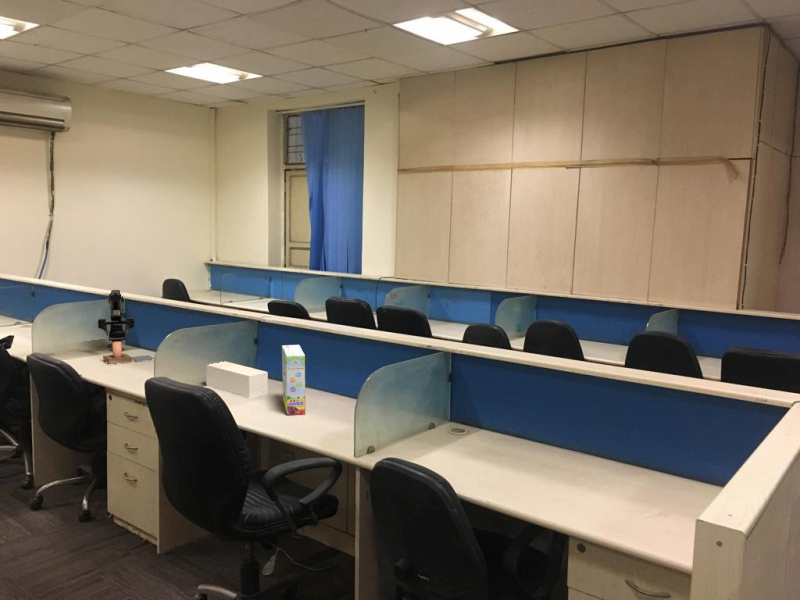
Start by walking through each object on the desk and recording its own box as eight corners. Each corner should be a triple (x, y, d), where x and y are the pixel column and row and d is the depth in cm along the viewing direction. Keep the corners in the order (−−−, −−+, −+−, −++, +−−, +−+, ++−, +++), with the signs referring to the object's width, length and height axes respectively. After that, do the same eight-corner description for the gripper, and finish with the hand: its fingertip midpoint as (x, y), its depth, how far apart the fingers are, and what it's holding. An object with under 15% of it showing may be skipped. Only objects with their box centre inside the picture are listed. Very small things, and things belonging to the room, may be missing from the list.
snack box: (280, 401, 282) (281, 344, 279) (300, 400, 284) (301, 344, 281) (285, 416, 261) (285, 355, 258) (306, 415, 264) (307, 354, 260)
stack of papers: (206, 386, 304) (206, 364, 302) (224, 382, 312) (224, 361, 311) (249, 399, 285) (249, 376, 283) (267, 394, 293) (267, 371, 292)
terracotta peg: (111, 361, 348) (111, 341, 347) (120, 360, 351) (120, 341, 350) (114, 363, 345) (113, 343, 343) (123, 362, 348) (122, 342, 346)
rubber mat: (130, 358, 356) (130, 357, 356) (148, 356, 363) (148, 355, 362) (136, 361, 349) (136, 360, 348) (154, 359, 355) (154, 358, 355)
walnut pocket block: (103, 361, 349) (103, 355, 348) (125, 358, 356) (124, 353, 356) (109, 365, 340) (109, 359, 340) (131, 362, 347) (131, 357, 347)
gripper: (97, 304, 352) (97, 327, 344) (133, 303, 360) (134, 326, 351) (98, 316, 360) (98, 339, 352) (133, 315, 368) (134, 337, 359)
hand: (116, 335), depth 353 cm, fingers open, 9 cm apart
